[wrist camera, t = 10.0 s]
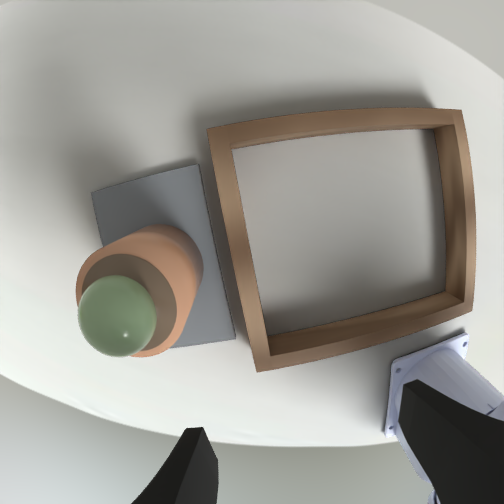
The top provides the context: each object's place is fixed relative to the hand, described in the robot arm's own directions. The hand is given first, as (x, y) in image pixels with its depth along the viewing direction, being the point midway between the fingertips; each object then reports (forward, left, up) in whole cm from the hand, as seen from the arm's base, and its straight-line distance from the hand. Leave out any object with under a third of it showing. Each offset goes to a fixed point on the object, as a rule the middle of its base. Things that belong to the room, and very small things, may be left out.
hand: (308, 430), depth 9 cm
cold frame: (+4, -6, -10) cm, 13 cm away
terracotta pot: (+5, +6, -10) cm, 13 cm away
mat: (+4, +6, -10) cm, 13 cm away
